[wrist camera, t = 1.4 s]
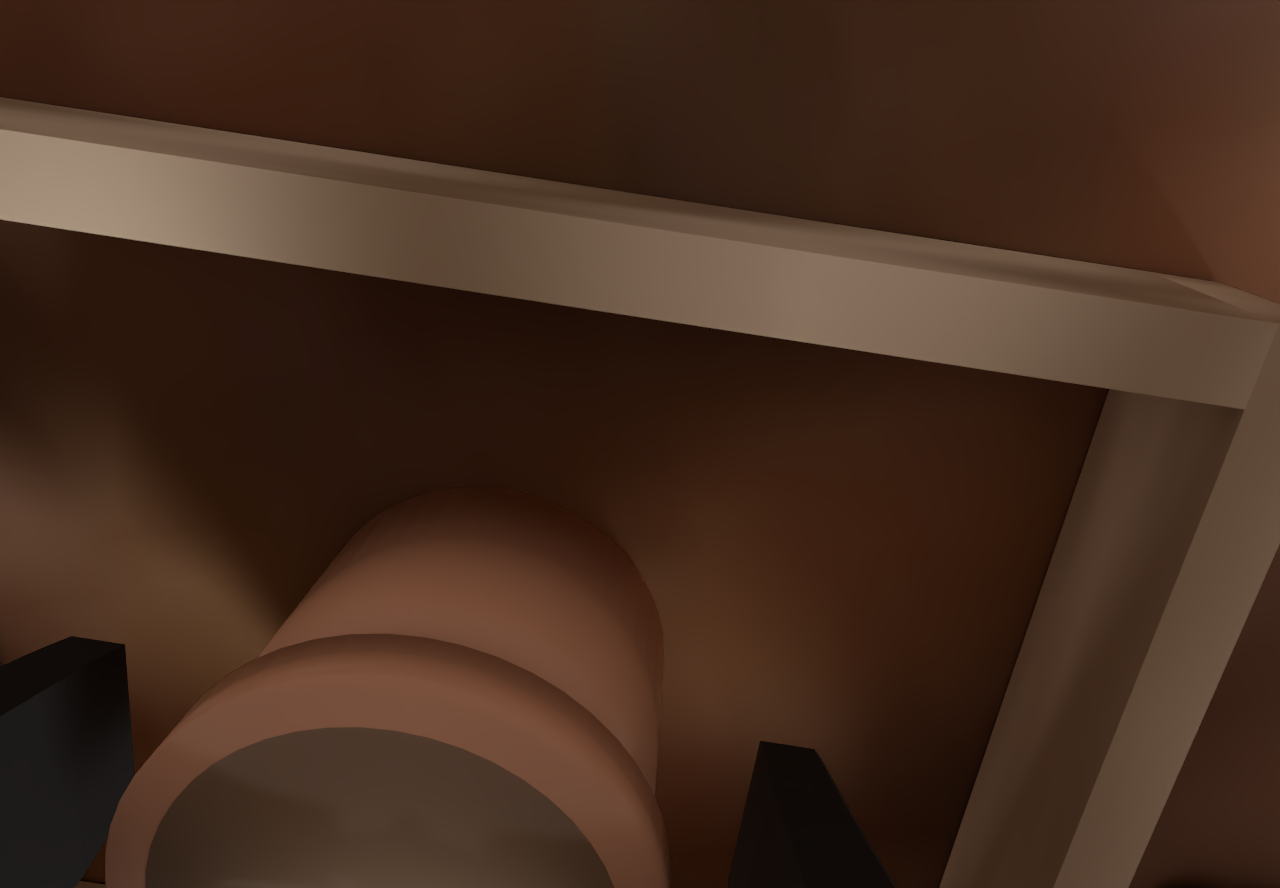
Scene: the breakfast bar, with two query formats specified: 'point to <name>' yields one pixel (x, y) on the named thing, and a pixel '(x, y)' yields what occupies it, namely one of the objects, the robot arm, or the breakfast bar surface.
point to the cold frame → (839, 317)
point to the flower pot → (425, 721)
